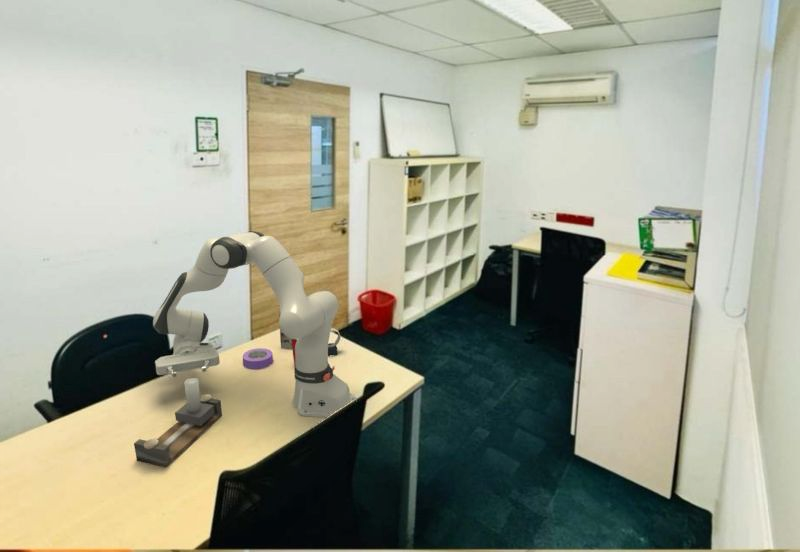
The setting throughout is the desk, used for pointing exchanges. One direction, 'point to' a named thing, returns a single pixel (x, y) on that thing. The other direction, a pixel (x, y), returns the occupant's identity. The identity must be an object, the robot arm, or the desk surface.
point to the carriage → (194, 405)
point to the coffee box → (285, 340)
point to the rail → (175, 438)
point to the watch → (333, 344)
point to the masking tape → (253, 363)
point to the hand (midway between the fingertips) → (189, 372)
